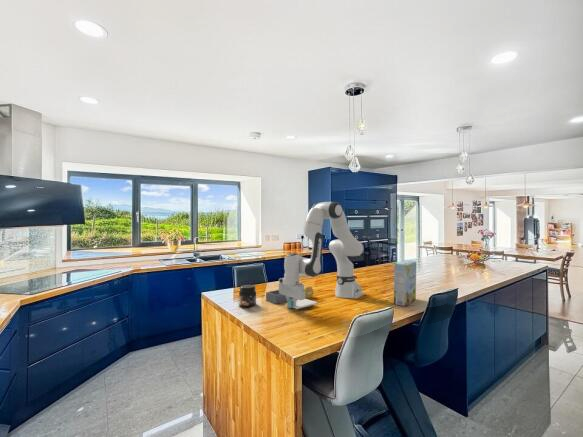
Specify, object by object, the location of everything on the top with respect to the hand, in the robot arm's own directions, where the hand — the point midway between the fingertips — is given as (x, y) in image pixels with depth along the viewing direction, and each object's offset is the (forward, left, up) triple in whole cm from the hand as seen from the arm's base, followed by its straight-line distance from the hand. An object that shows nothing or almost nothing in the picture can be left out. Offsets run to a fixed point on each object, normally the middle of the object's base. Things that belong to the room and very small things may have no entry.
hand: (291, 304), depth 169 cm
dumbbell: (-25, -19, -4) cm, 32 cm away
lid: (-8, 0, -1) cm, 8 cm away
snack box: (-66, +36, -4) cm, 75 cm away
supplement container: (+15, -24, -4) cm, 29 cm away
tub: (-7, -19, -3) cm, 20 cm away
